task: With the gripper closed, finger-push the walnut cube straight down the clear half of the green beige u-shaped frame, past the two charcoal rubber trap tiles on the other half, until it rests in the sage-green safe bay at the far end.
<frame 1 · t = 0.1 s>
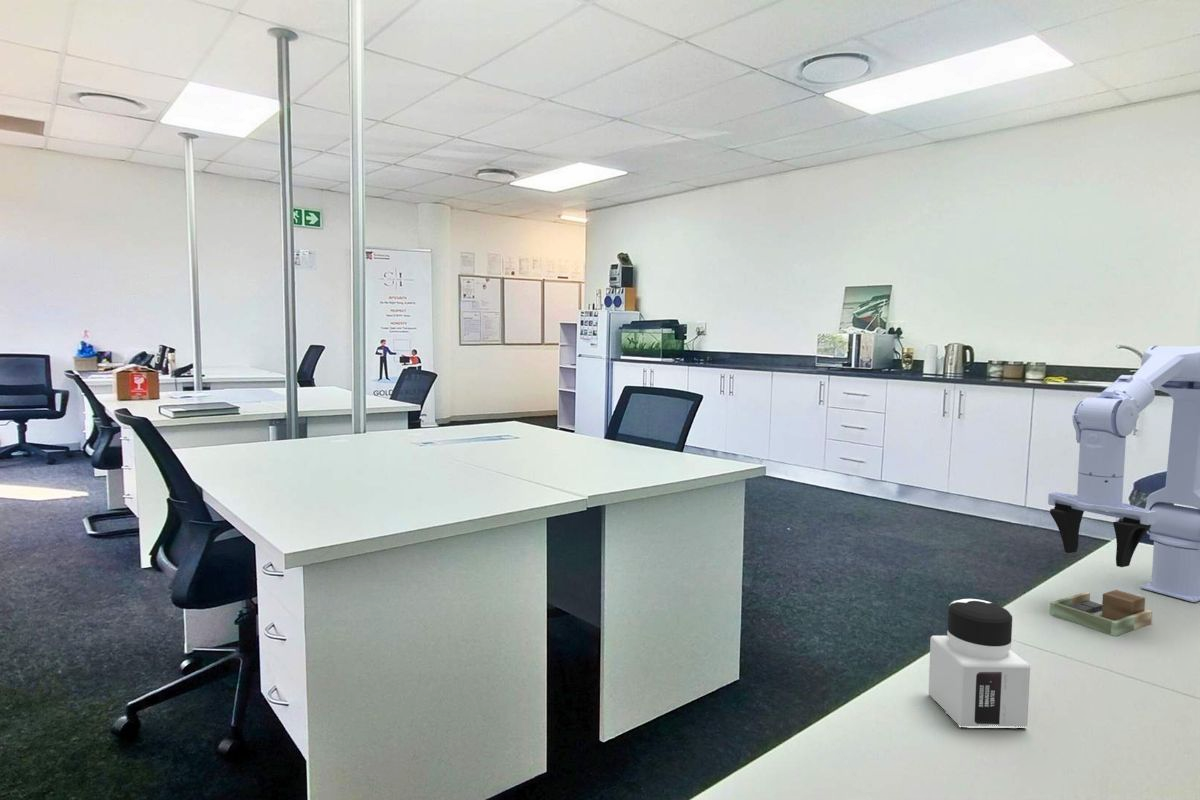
hand: (1095, 558, 105), 10 cm above the table, fingers open, 7 cm apart
green beige u-shaped frame: (1099, 618, 106), on the table
block: (1122, 620, 106), resting in green beige u-shaped frame
container: (975, 713, 79), on the table
trap tiles: (1086, 608, 110), resting in green beige u-shaped frame
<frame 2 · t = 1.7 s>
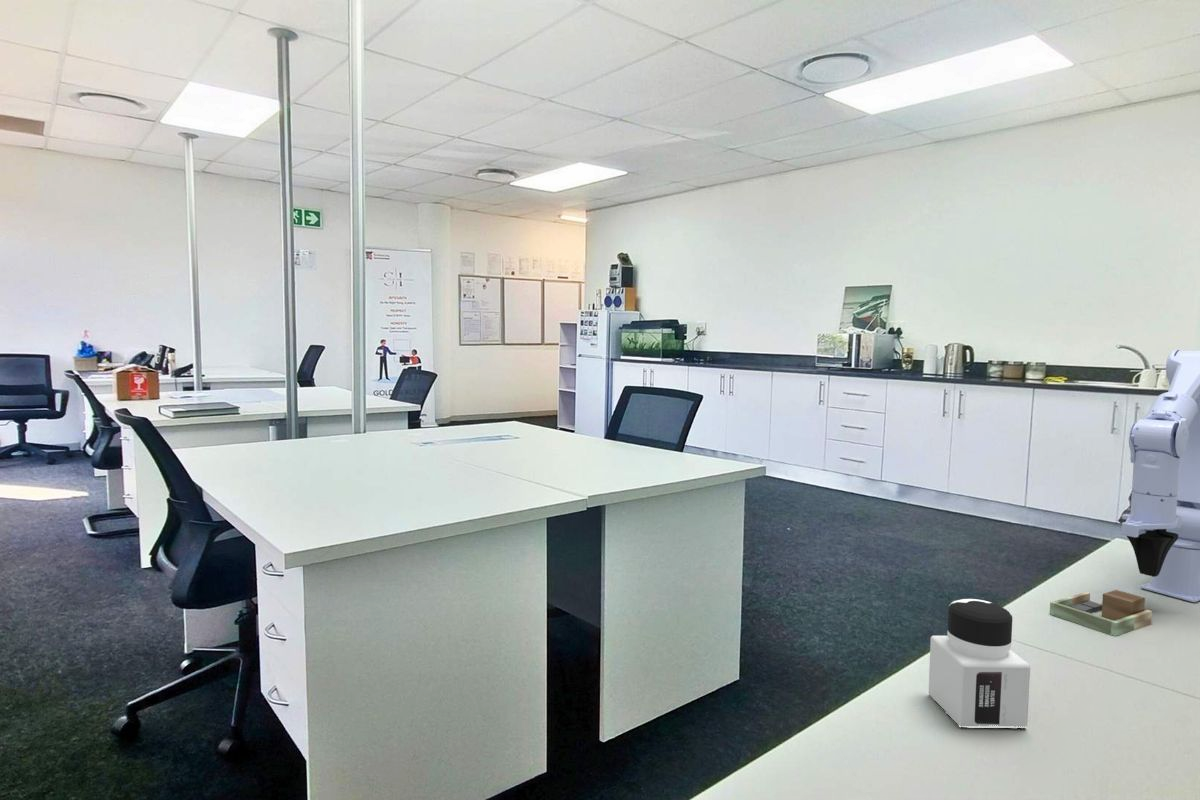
hand: (1148, 574, 109), 6 cm above the table, fingers closed
nothing on the table moved.
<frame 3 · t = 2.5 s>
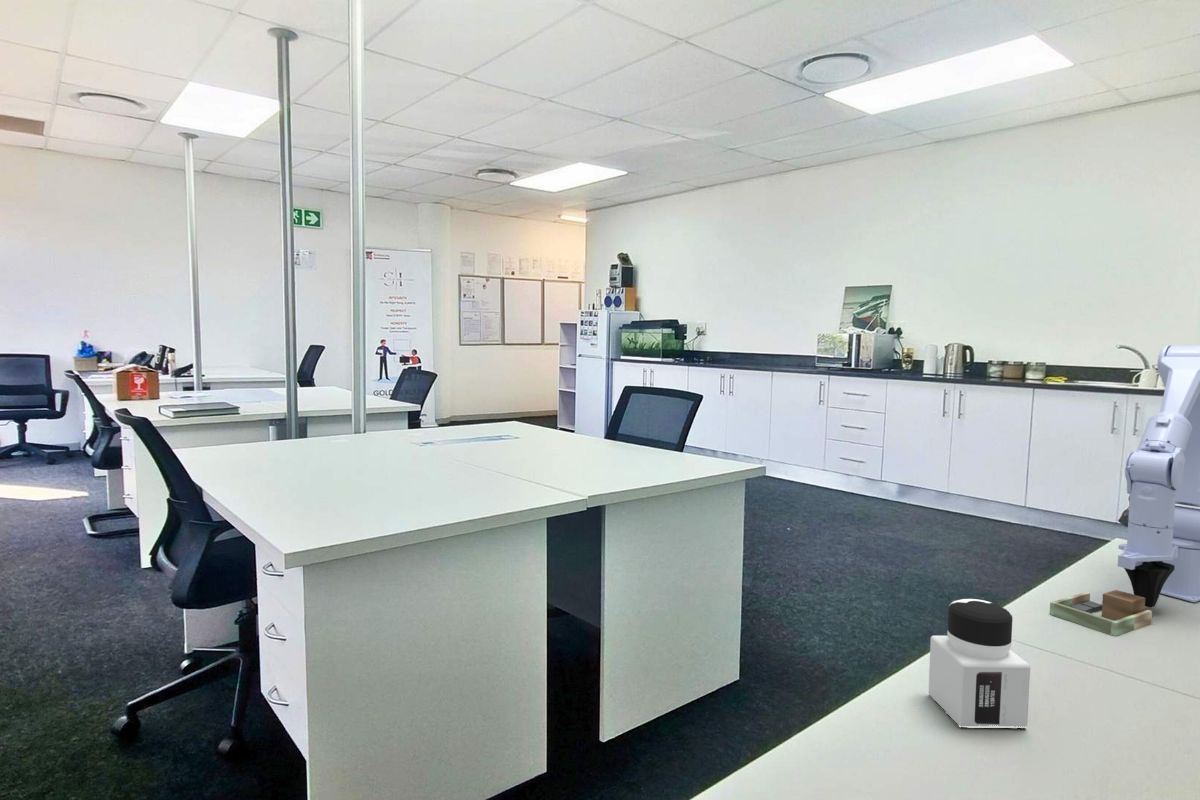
hand: (1145, 605, 109), 1 cm above the table, fingers closed
nothing on the table moved.
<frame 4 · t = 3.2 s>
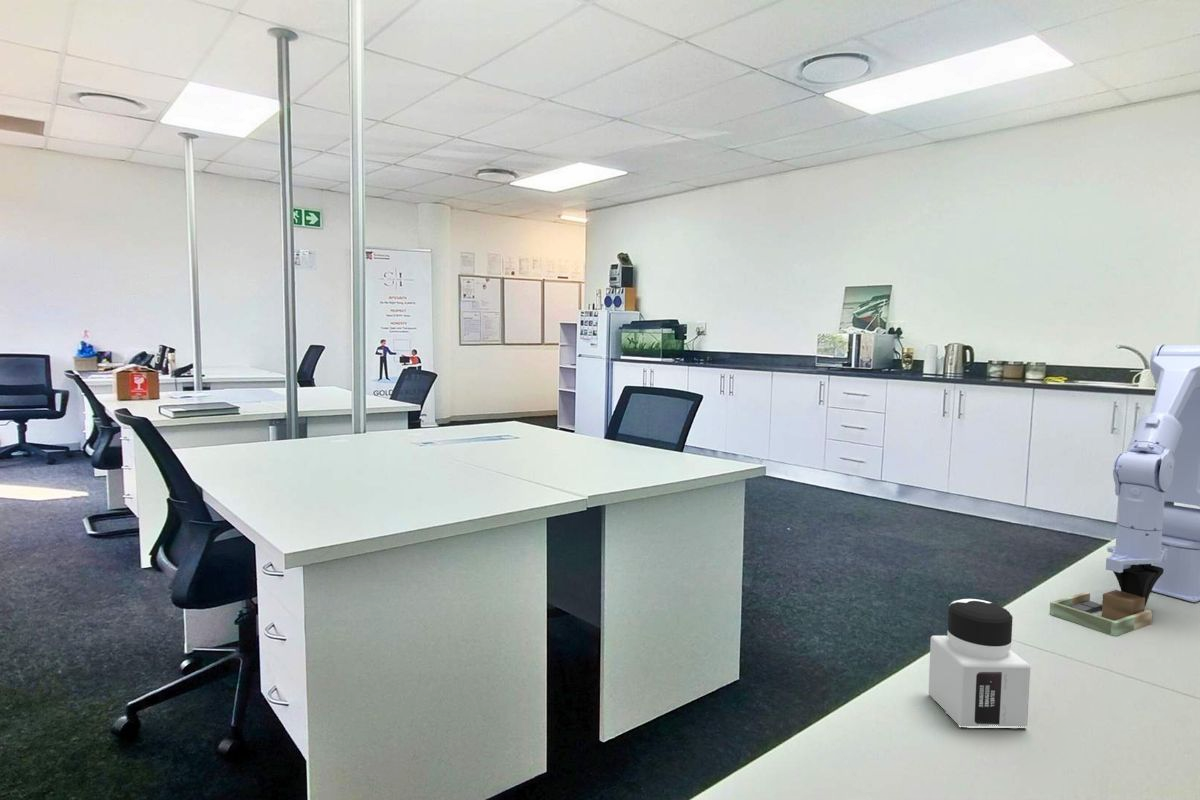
hand: (1134, 608, 108), 1 cm above the table, fingers closed
block: (1122, 620, 106), resting in green beige u-shaped frame, touching gripper
everything else where it was.
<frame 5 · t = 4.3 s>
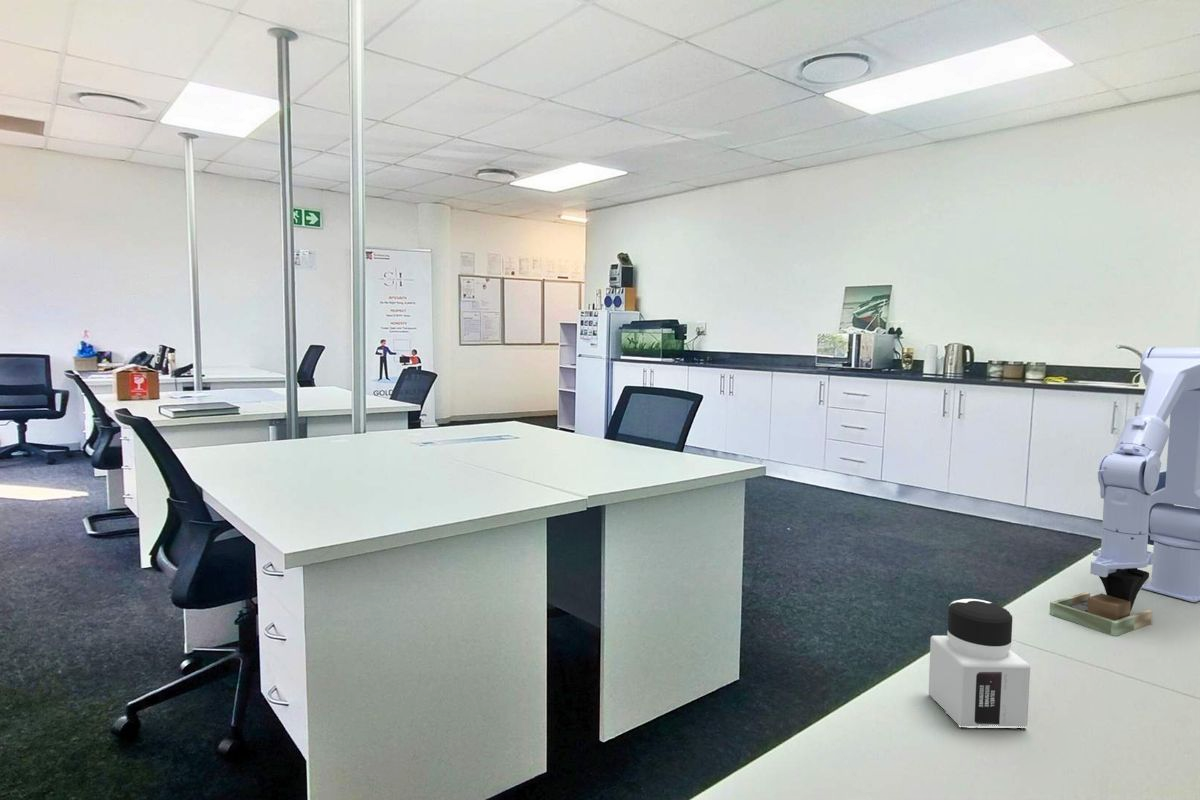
hand: (1119, 613, 106), 1 cm above the table, fingers closed
block: (1107, 624, 104), resting in green beige u-shaped frame, touching gripper
everything else where it was.
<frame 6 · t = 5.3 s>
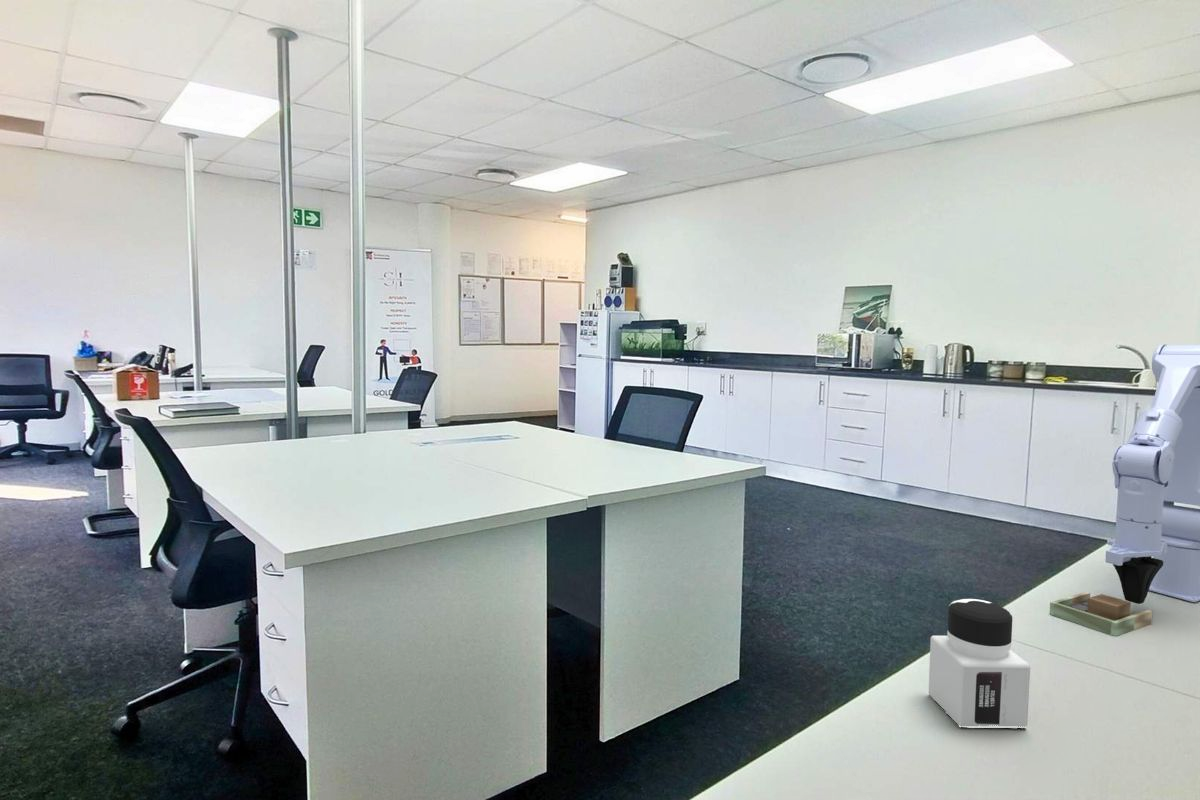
hand: (1134, 601, 108), 2 cm above the table, fingers closed
block: (1107, 624, 104), resting in green beige u-shaped frame
everything else where it was.
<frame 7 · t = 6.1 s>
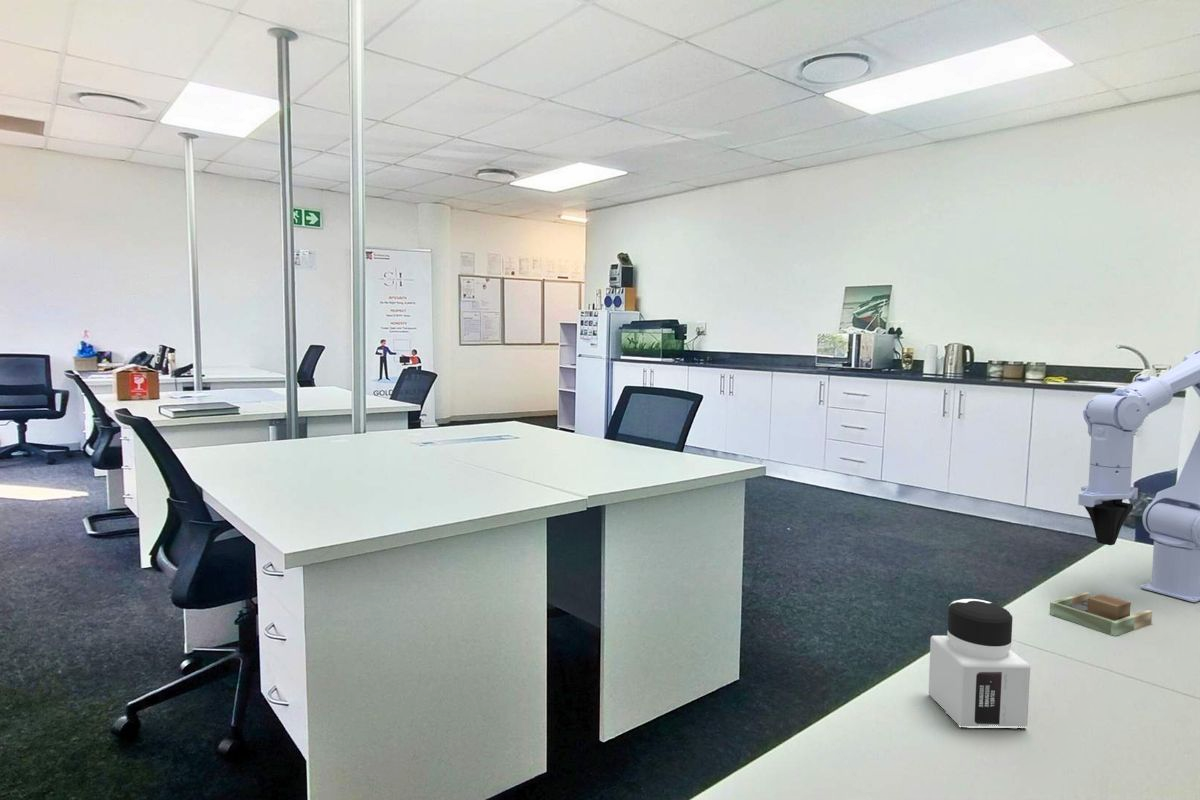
hand: (1105, 543, 114), 10 cm above the table, fingers closed
nothing on the table moved.
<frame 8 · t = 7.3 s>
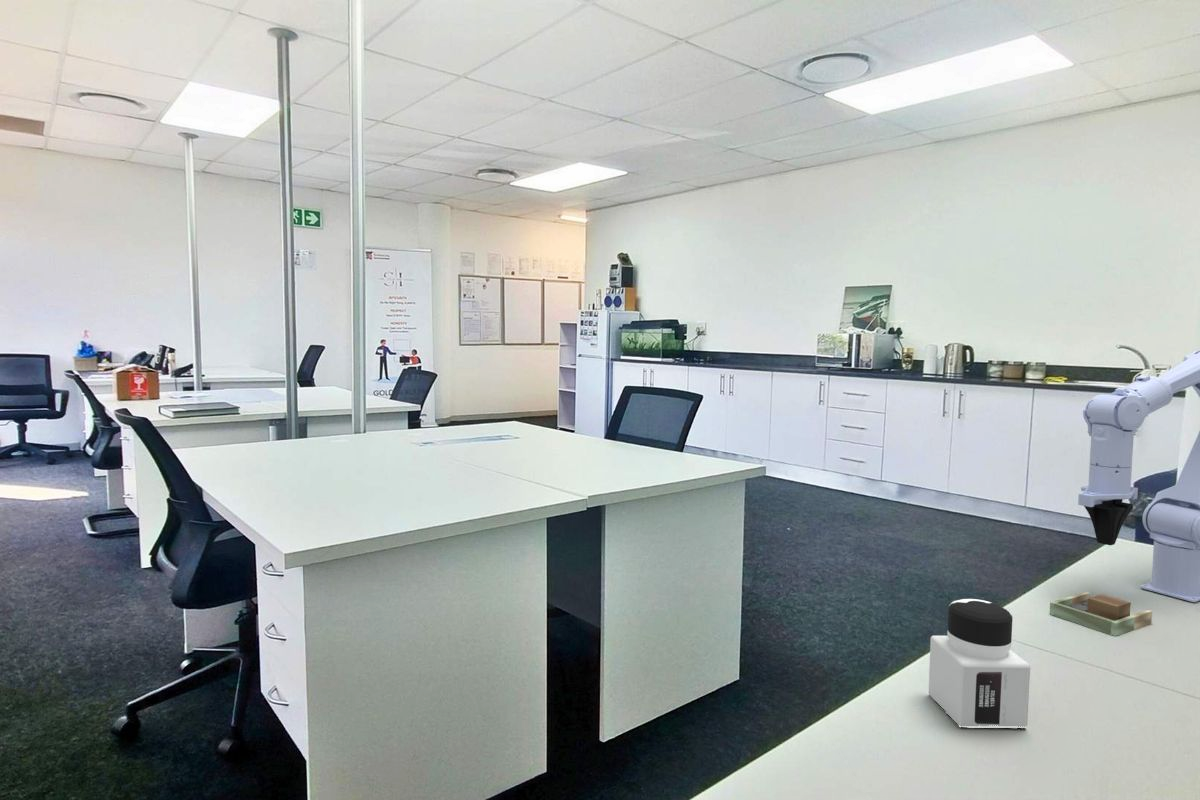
hand: (1105, 543, 114), 10 cm above the table, fingers closed
nothing on the table moved.
at the end: block 0.8 cm from the target spot, resting in green beige u-shaped frame; block touching table; block tilted 0° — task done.
